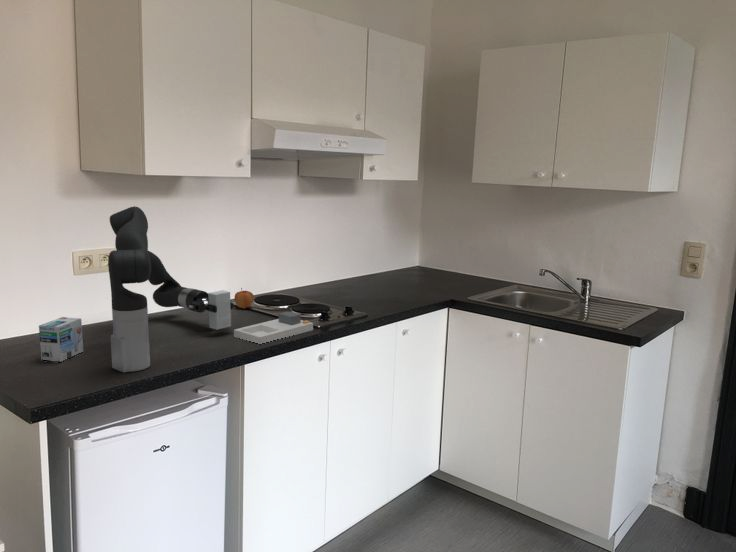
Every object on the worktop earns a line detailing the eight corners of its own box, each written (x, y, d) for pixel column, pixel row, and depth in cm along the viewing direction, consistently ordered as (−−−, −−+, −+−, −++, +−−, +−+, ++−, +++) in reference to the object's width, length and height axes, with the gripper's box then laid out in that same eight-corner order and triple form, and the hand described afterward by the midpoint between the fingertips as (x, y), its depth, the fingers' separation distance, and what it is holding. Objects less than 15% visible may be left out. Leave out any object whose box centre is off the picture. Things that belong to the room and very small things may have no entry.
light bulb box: (61, 363, 177) (58, 326, 175) (40, 361, 178) (37, 325, 176) (84, 352, 187) (82, 317, 185) (64, 350, 189) (62, 316, 187)
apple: (244, 311, 240) (243, 291, 239) (230, 308, 244) (230, 288, 243) (257, 307, 246) (257, 288, 245) (244, 305, 250) (243, 285, 249)
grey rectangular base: (260, 344, 198) (259, 328, 197) (234, 337, 206) (233, 320, 205) (313, 330, 216) (313, 314, 215) (287, 323, 224) (287, 308, 223)
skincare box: (223, 324, 212) (222, 289, 210) (231, 326, 209) (230, 291, 207) (208, 327, 207) (207, 292, 205) (216, 330, 205) (215, 294, 202)
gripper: (175, 292, 210) (206, 300, 199) (211, 286, 221) (241, 293, 210) (176, 314, 211) (206, 322, 201) (211, 307, 222) (241, 315, 212)
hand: (224, 307), depth 205 cm, fingers closed on skincare box, 6 cm apart
